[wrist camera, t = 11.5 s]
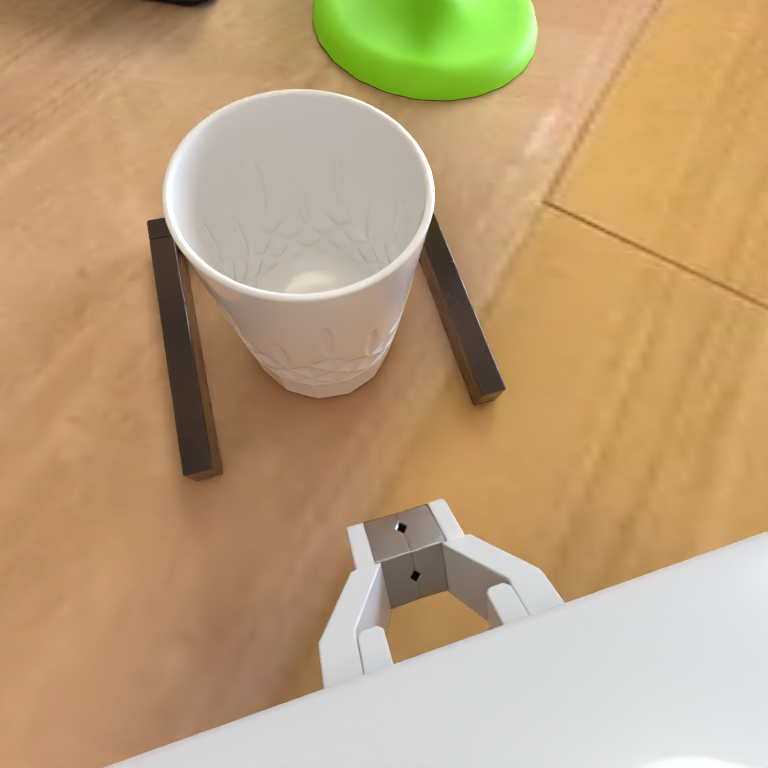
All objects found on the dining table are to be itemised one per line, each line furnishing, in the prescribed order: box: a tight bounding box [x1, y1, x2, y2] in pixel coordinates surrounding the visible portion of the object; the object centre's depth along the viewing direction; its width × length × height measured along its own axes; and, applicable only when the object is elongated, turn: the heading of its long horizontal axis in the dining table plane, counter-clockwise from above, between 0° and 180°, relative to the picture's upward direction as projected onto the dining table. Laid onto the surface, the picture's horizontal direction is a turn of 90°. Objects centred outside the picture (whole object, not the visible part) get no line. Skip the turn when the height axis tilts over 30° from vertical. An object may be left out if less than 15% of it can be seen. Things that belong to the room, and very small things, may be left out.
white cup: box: [162, 89, 435, 399], centre depth 18 cm, size 8×8×10 cm
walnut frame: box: [147, 211, 506, 481], centre depth 22 cm, size 13×14×2 cm
